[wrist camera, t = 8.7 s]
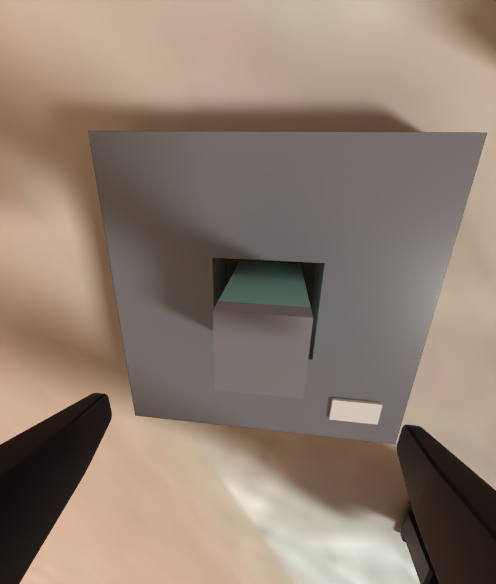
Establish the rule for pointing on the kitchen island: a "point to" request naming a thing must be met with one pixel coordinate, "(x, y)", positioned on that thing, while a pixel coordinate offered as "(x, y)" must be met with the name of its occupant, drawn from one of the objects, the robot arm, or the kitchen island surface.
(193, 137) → the outlet plate
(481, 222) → the kitchen island surface
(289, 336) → the block
